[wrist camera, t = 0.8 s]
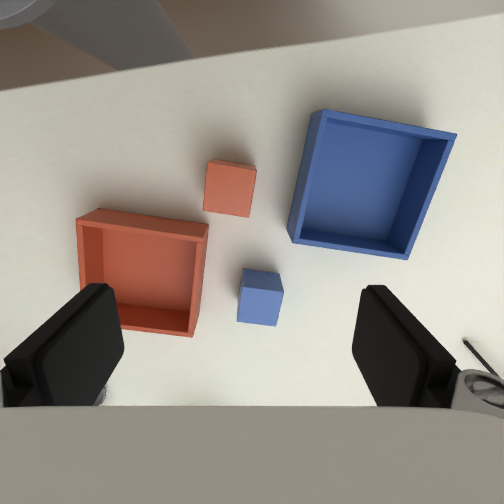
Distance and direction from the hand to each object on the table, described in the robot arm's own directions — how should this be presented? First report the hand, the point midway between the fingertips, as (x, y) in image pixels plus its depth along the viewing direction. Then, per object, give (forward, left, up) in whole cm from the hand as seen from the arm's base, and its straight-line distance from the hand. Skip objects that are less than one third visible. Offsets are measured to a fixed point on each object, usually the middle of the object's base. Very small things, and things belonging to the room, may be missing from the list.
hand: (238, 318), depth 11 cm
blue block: (+10, +3, -22) cm, 25 cm away
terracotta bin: (+9, -10, -22) cm, 26 cm away
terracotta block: (-2, -2, -22) cm, 22 cm away
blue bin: (-4, +11, -22) cm, 25 cm away
